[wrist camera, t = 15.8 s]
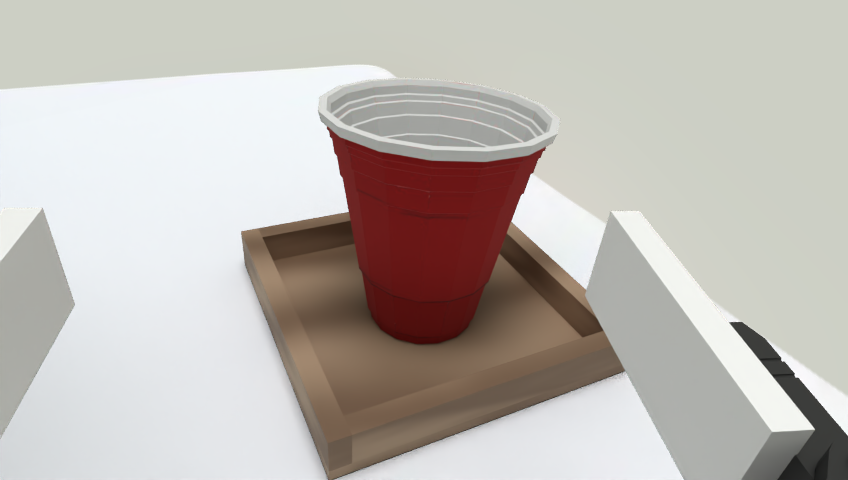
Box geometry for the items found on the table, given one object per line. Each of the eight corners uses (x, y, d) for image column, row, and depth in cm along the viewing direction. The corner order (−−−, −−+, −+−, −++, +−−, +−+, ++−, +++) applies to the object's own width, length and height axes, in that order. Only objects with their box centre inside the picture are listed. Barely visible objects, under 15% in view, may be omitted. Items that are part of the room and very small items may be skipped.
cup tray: (245, 264, 36) (241, 231, 34) (471, 218, 42) (475, 189, 41) (329, 480, 24) (327, 443, 23) (624, 370, 30) (637, 336, 29)
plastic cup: (513, 260, 37) (549, 73, 30) (525, 390, 28) (580, 164, 21) (343, 243, 37) (342, 53, 31) (301, 367, 28) (286, 135, 21)
